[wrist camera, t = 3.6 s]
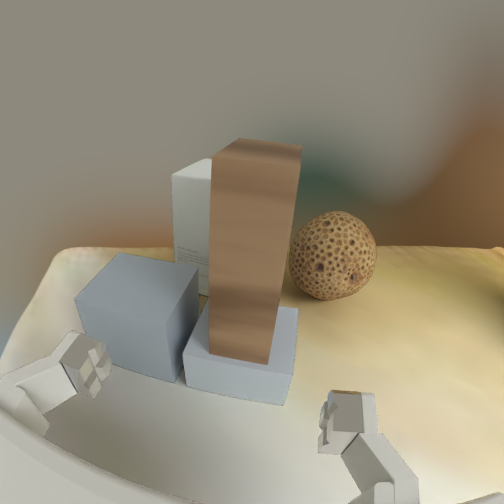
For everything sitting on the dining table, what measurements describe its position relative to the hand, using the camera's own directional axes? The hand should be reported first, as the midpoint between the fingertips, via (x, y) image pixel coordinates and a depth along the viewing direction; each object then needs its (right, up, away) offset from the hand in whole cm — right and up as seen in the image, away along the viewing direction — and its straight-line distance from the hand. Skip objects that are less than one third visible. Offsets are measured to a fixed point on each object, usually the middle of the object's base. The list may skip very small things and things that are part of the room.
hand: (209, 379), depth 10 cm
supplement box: (-2, +1, +25) cm, 25 cm away
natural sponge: (+9, -1, +23) cm, 25 cm away
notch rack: (-4, -4, +15) cm, 16 cm away
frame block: (+1, -1, +13) cm, 13 cm away
